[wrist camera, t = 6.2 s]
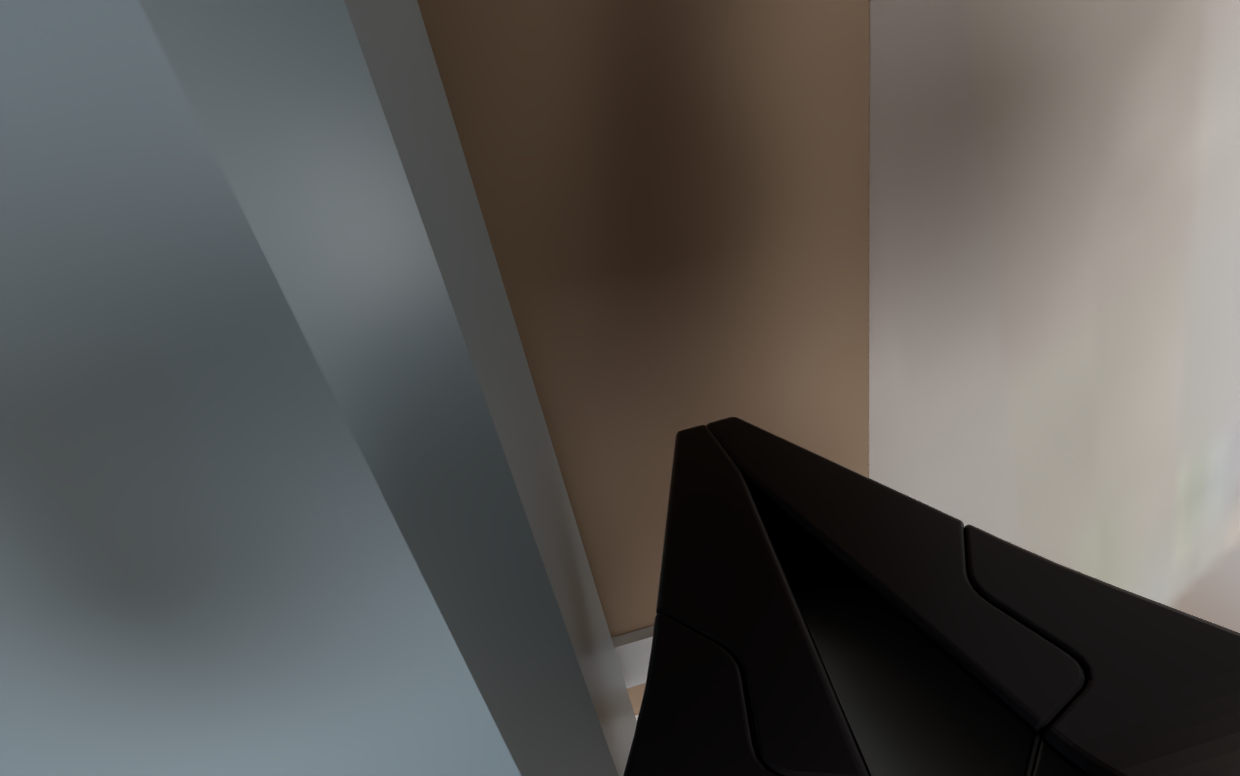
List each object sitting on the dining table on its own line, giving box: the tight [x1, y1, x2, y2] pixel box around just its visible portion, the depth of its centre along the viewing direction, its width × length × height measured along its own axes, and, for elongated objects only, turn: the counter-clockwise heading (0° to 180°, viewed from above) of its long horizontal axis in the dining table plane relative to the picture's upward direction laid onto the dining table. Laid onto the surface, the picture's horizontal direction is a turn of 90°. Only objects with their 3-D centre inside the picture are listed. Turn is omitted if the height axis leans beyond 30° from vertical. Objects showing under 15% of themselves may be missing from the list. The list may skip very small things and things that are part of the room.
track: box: [417, 0, 870, 715], centre depth 12 cm, size 20×22×1 cm
